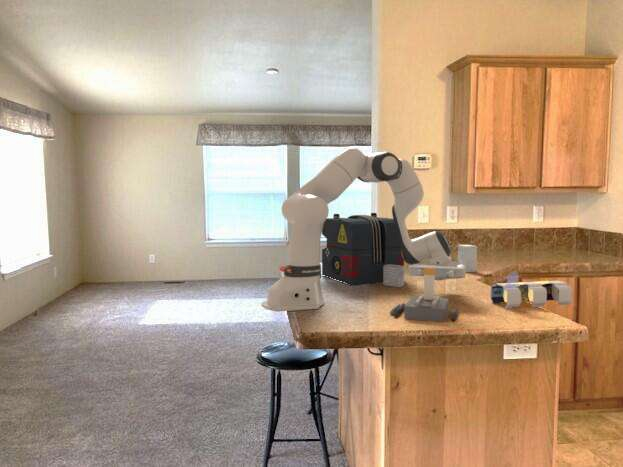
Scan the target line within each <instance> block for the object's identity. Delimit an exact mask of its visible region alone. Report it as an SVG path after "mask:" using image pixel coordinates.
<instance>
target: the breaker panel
mask: <svg viewBox="0 0 623 467" xmlns="http://www.w3.org/2000/svg"><path fill="white" fill-rule="evenodd" d="M449 303H450V298H447V297H441V296H440V295H438V296H437V295H436V296H434V299H433V300H424V294H422V295H421V294H420V295H418V296H417V295H412V296H411V298H410V299H409V300H408V301H407V303H405V304H406V305H405V307H404V312H403V313H404V318H405V319H406V320H417V321H430V322H439V323H444V322H445V320H446V318H447V315H448V313H449V310H450V304H449Z"/></svg>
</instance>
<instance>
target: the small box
mask: <svg viewBox="0 0 623 467" xmlns="http://www.w3.org/2000/svg"><path fill="white" fill-rule="evenodd" d="M457 260H458V261H462V262H463V264H464V266H465V273H476V272H477V269H478V268H477V266H478V265H477V264H478V245H473V244H457Z"/></svg>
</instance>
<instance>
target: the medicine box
mask: <svg viewBox="0 0 623 467" xmlns="http://www.w3.org/2000/svg"><path fill="white" fill-rule="evenodd" d="M383 286H389V287H395V288H402V287H404V286H405V265H404V266H400V265H390V264H388V265H384V266H383Z"/></svg>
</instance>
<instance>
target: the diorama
mask: <svg viewBox="0 0 623 467" xmlns="http://www.w3.org/2000/svg"><path fill="white" fill-rule="evenodd" d="M519 277H520V276H519V275H518V271H517V270H515V271H512V273H509V276H506V281H507V282H500V283H498V282H497V283H495V284H492V285H491V286H490V301H491V304H501V303H500V302H507V303H506V305H505V307H504V309H505V308H507V309H513V308H512V307H519V308H520V305H521V303H524V302H525V303H526V302H529V303H530V302H532V303H531V305H530V306H532V307H531V308H536V307H537V308H540V307H545V305H546V304H547V301H556V306H570V304H571V303H572V301H573V299H572V298H573V288H572V287H571V286H570V285H568V283H567V282H564V281H562V280H561V281H560V280H545V281H543V280H541V281H524V282H521V281H519V282H518V280H519ZM521 301H522V302H521Z"/></svg>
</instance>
